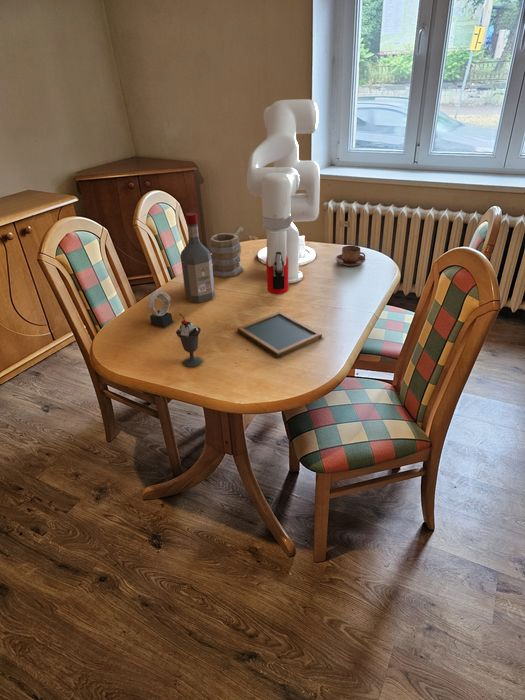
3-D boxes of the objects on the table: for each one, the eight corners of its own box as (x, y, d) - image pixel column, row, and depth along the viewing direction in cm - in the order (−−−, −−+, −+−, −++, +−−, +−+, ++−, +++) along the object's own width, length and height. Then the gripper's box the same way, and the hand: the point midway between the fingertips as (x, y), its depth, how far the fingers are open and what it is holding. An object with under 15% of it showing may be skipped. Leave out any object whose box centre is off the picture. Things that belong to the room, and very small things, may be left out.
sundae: (181, 356, 132) (174, 310, 124) (204, 355, 132) (199, 308, 124) (179, 369, 126) (172, 321, 118) (204, 367, 127) (198, 320, 119)
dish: (275, 271, 184) (275, 244, 178) (248, 253, 203) (247, 228, 197) (326, 259, 194) (327, 233, 188) (296, 243, 213) (296, 218, 207)
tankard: (229, 279, 179) (227, 241, 171) (204, 273, 185) (200, 237, 177) (257, 262, 193) (255, 227, 185) (233, 257, 199) (230, 223, 191)
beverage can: (268, 288, 137) (267, 249, 131) (289, 288, 137) (288, 249, 130) (266, 297, 132) (265, 257, 126) (287, 297, 132) (287, 257, 125)
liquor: (217, 298, 165) (209, 214, 149) (194, 305, 161) (183, 219, 145) (206, 289, 171) (197, 208, 155) (183, 295, 167) (172, 213, 151)
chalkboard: (237, 332, 143) (237, 327, 142) (279, 315, 152) (279, 311, 151) (278, 358, 130) (278, 353, 129) (321, 338, 138) (321, 333, 137)
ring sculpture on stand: (176, 319, 152) (172, 288, 146) (160, 330, 146) (155, 298, 140) (163, 316, 154) (158, 285, 148) (147, 326, 148) (141, 295, 143)
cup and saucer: (365, 258, 193) (366, 244, 190) (364, 269, 183) (365, 254, 180) (337, 257, 196) (337, 243, 192) (334, 267, 186) (335, 252, 183)
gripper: (261, 214, 131) (263, 273, 140) (264, 232, 116) (266, 297, 125) (287, 212, 131) (287, 272, 140) (293, 231, 116) (293, 296, 126)
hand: (277, 283), depth 133 cm, fingers closed on beverage can, 5 cm apart
